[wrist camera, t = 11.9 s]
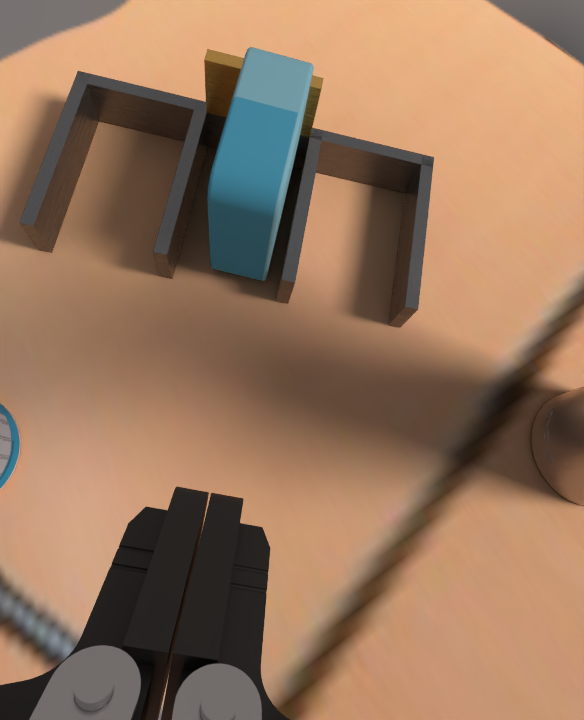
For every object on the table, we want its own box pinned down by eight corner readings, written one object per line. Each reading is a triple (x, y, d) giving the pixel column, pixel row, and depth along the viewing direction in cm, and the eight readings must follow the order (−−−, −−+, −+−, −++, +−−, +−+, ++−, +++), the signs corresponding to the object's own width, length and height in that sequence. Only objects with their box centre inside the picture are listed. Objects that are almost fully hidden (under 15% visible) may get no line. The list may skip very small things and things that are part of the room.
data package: (243, 155, 45) (250, 34, 33) (293, 168, 45) (317, 52, 33) (210, 275, 41) (205, 185, 30) (264, 288, 41) (280, 204, 30)
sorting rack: (416, 186, 46) (460, 112, 37) (400, 327, 42) (445, 281, 33) (90, 108, 44) (58, 11, 35) (38, 249, 40) (-12, 178, 31)
